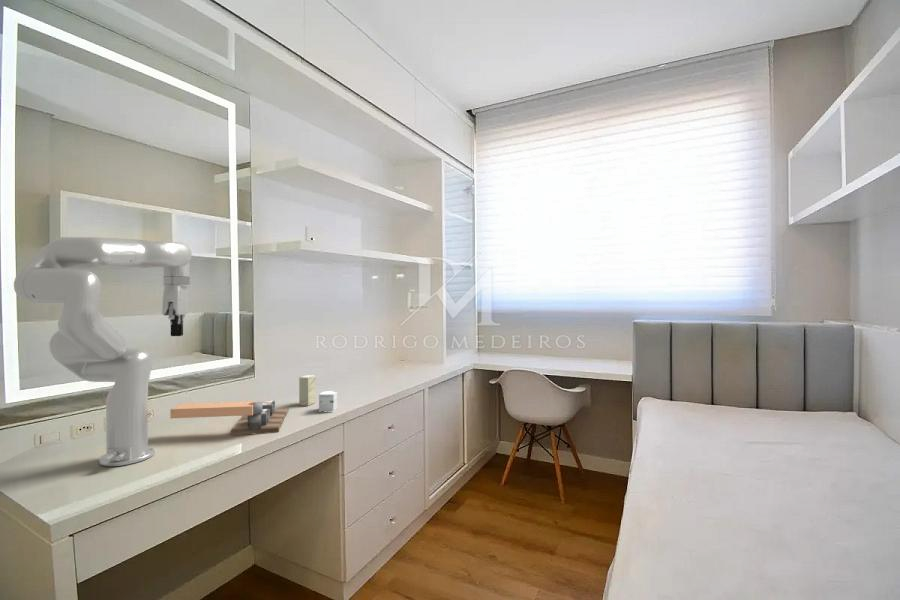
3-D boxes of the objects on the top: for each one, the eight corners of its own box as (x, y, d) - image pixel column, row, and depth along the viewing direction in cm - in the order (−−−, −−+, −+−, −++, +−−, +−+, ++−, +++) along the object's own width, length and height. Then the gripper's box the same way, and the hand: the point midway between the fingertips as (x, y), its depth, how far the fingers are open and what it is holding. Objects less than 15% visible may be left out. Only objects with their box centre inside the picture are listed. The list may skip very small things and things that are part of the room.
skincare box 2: (318, 412, 166) (318, 394, 166) (322, 408, 172) (322, 390, 172) (333, 412, 166) (333, 394, 166) (337, 408, 172) (337, 390, 172)
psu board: (278, 432, 141) (278, 413, 141) (229, 436, 138) (229, 416, 138) (288, 411, 167) (288, 394, 167) (248, 413, 164) (248, 397, 164)
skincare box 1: (308, 406, 175) (308, 377, 175) (298, 405, 176) (298, 377, 176) (315, 402, 181) (315, 374, 181) (306, 402, 182) (306, 374, 182)
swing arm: (265, 409, 145) (265, 400, 145) (259, 415, 138) (259, 406, 138) (181, 412, 141) (181, 403, 141) (170, 418, 134) (170, 409, 134)
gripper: (173, 282, 147) (173, 334, 148) (154, 281, 133) (154, 338, 133) (196, 283, 149) (196, 333, 149) (180, 281, 135) (180, 337, 135)
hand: (176, 335), depth 141 cm, fingers closed
